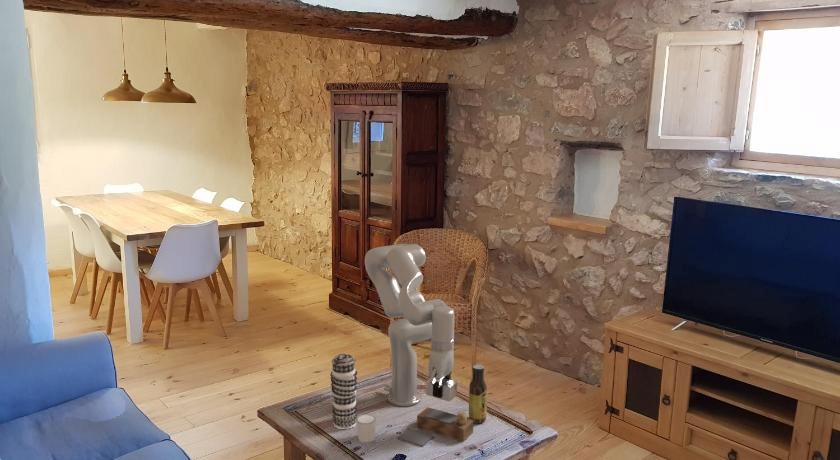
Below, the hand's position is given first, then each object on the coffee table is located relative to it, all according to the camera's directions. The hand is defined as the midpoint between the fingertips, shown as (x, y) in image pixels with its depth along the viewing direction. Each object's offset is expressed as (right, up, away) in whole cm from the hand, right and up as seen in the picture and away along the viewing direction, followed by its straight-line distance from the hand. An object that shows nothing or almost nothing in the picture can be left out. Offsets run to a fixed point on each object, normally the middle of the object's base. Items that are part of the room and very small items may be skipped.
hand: (441, 392), depth 214 cm
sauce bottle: (+13, -12, +8) cm, 20 cm away
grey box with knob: (0, -1, 0) cm, 1 cm away
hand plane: (+1, -13, +2) cm, 13 cm away
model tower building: (-33, -12, +6) cm, 36 cm away
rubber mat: (-9, -14, -3) cm, 17 cm away
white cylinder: (-25, -14, -3) cm, 29 cm away
